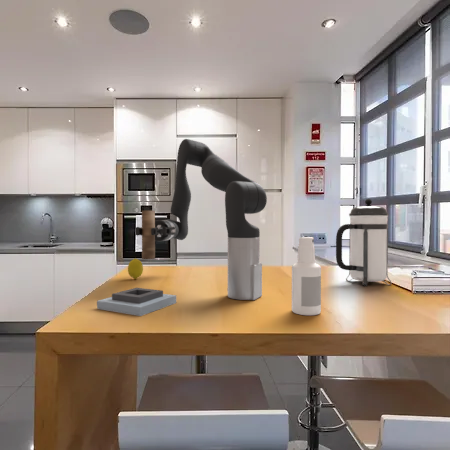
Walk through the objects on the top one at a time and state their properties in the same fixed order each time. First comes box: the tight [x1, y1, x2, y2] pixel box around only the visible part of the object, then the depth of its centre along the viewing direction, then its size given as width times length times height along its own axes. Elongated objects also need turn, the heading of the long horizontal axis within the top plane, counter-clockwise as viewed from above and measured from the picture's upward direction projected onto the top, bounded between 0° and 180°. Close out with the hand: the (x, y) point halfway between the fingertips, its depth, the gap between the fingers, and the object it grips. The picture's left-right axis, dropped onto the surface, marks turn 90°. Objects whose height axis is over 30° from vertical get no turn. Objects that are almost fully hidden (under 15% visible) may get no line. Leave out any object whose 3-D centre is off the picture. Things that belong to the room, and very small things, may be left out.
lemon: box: [127, 257, 144, 280], centre depth 125 cm, size 6×6×8 cm
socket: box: [96, 287, 177, 317], centre depth 85 cm, size 14×14×4 cm
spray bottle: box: [291, 236, 322, 316], centre depth 80 cm, size 7×7×18 cm
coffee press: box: [335, 198, 392, 287], centre depth 117 cm, size 17×16×30 cm
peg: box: [141, 210, 156, 260], centre depth 104 cm, size 4×4×15 cm
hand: (145, 231), depth 101 cm, fingers closed on peg, 4 cm apart
